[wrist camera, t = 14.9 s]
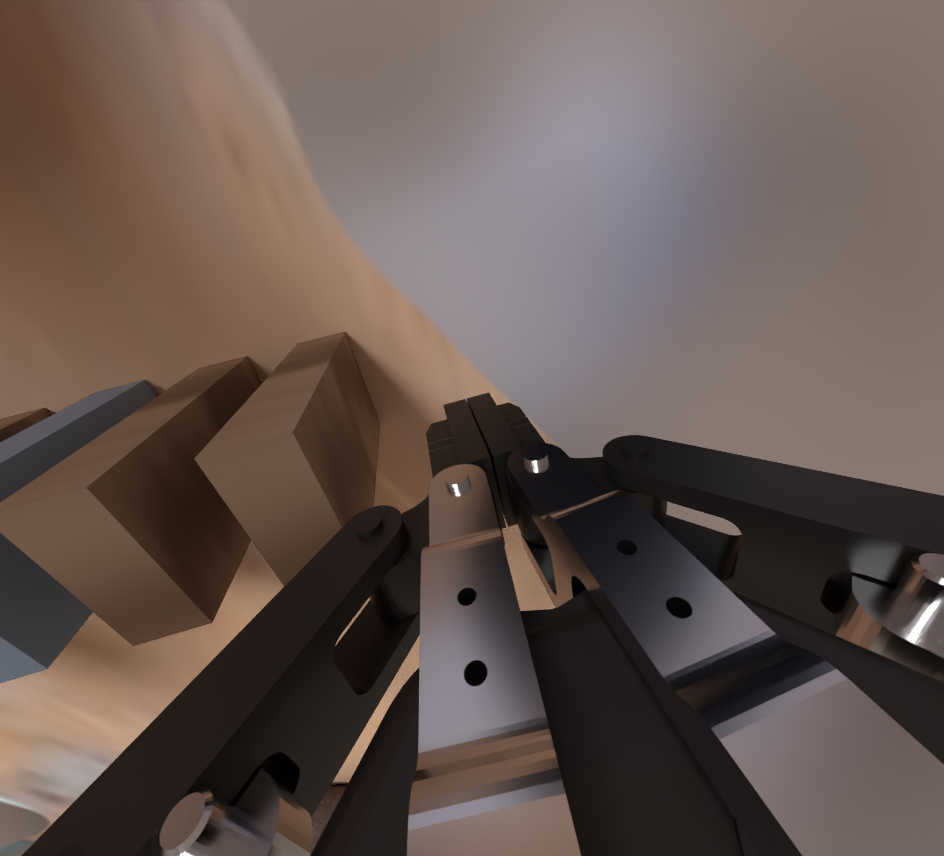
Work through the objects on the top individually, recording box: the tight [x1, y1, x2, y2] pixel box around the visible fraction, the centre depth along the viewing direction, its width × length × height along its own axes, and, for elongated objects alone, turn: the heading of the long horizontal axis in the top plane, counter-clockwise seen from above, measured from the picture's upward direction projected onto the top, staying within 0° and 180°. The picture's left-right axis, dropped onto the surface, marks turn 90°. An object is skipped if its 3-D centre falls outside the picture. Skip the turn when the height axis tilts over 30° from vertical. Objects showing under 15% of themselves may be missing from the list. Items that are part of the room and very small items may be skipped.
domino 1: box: [0, 380, 157, 683], centre depth 13 cm, size 5×2×10 cm, turn 13°
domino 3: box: [194, 332, 380, 586], centre depth 14 cm, size 5×2×10 cm, turn 12°
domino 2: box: [0, 356, 262, 646], centre depth 13 cm, size 5×2×10 cm, turn 12°
